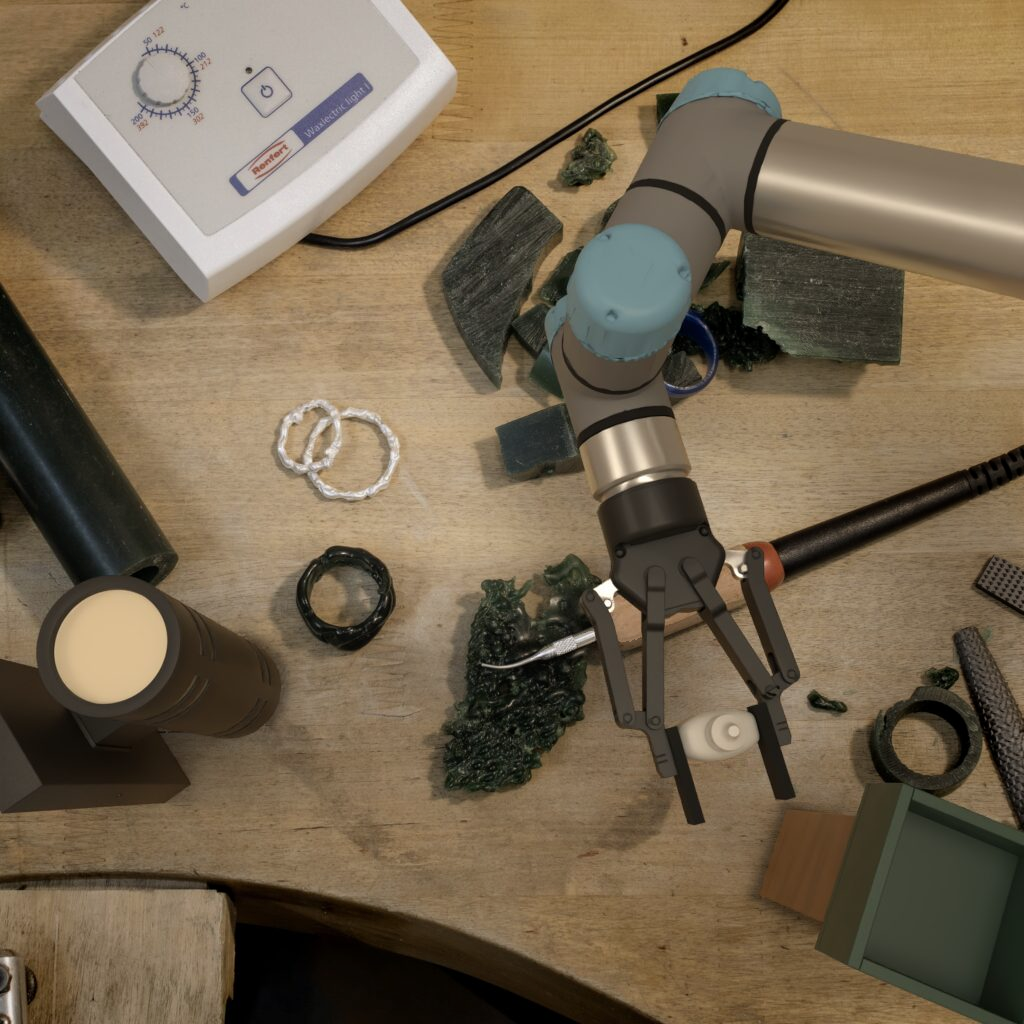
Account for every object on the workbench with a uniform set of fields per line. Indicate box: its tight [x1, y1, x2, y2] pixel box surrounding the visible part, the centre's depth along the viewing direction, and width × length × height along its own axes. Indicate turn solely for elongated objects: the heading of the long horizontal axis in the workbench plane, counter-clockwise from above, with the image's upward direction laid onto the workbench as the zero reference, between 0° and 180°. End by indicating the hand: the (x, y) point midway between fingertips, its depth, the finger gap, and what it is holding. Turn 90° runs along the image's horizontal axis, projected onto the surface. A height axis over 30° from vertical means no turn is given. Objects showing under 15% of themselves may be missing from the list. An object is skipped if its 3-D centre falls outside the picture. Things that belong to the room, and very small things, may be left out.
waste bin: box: [814, 782, 1024, 1024], centre depth 68 cm, size 12×12×7 cm
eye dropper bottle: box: [667, 707, 759, 764], centre depth 73 cm, size 4×6×12 cm
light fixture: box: [0, 574, 282, 815], centre depth 82 cm, size 10×15×33 cm
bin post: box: [758, 808, 856, 923], centre depth 83 cm, size 8×8×25 cm
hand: (740, 810), depth 71 cm, fingers closed on eye dropper bottle, 6 cm apart
